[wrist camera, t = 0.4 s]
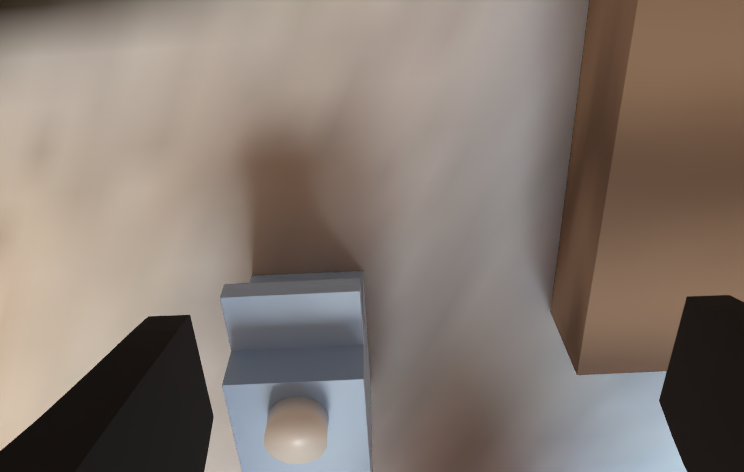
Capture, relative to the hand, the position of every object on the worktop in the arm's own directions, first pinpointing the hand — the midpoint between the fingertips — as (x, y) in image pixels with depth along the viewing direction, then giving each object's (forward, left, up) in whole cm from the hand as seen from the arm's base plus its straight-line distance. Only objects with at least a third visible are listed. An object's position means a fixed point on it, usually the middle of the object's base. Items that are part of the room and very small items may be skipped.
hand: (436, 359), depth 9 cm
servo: (-7, +3, -10) cm, 12 cm away
